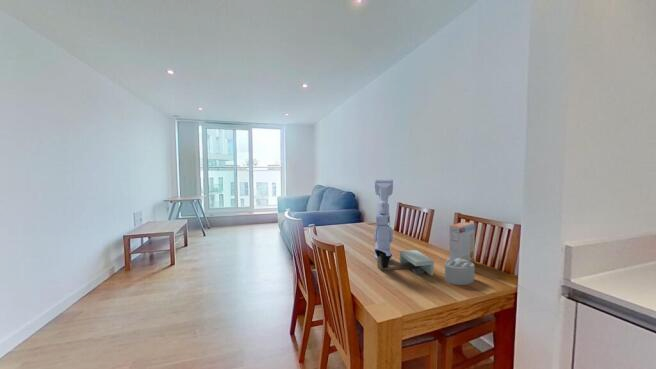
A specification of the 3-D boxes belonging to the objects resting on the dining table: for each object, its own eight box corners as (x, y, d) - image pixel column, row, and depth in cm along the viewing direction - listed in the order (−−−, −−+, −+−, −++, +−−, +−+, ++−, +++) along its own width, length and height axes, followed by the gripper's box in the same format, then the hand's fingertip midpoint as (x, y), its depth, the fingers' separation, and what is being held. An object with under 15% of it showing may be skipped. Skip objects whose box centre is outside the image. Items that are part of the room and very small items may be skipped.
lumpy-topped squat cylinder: (477, 280, 115) (477, 261, 115) (461, 287, 108) (461, 267, 107) (455, 272, 124) (455, 254, 123) (438, 278, 117) (438, 260, 116)
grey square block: (412, 271, 126) (412, 268, 126) (419, 270, 127) (419, 267, 127) (416, 274, 122) (416, 271, 122) (423, 274, 123) (424, 270, 123)
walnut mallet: (377, 267, 130) (377, 256, 130) (413, 264, 134) (413, 253, 133) (380, 270, 127) (380, 258, 126) (417, 267, 130) (417, 256, 130)
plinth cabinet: (399, 264, 135) (400, 251, 134) (416, 263, 136) (416, 250, 136) (415, 276, 119) (415, 261, 118) (433, 275, 120) (433, 260, 120)
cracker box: (463, 259, 141) (464, 221, 140) (474, 262, 136) (475, 223, 135) (448, 264, 134) (449, 224, 133) (459, 268, 129) (460, 226, 128)
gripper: (370, 235, 134) (370, 261, 135) (380, 243, 120) (380, 271, 121) (383, 234, 136) (383, 260, 136) (395, 242, 121) (394, 270, 122)
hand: (382, 265), depth 129 cm, fingers open, 5 cm apart
